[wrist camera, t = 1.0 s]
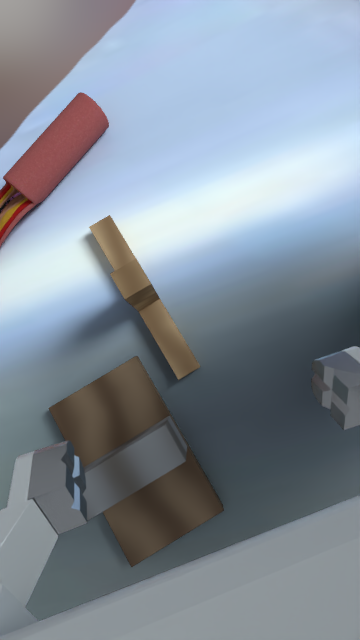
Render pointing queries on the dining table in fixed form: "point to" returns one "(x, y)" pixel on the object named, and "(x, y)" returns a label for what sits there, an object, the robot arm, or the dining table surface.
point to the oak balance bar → (143, 297)
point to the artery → (50, 159)
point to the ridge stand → (135, 461)
